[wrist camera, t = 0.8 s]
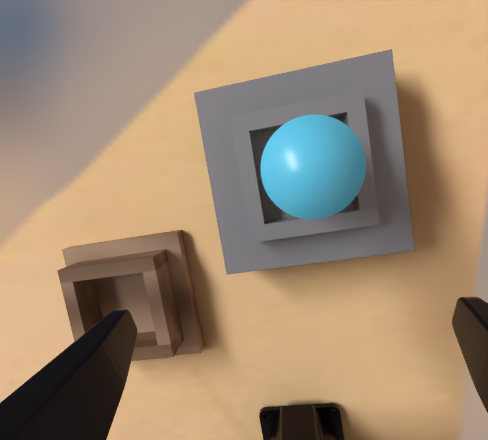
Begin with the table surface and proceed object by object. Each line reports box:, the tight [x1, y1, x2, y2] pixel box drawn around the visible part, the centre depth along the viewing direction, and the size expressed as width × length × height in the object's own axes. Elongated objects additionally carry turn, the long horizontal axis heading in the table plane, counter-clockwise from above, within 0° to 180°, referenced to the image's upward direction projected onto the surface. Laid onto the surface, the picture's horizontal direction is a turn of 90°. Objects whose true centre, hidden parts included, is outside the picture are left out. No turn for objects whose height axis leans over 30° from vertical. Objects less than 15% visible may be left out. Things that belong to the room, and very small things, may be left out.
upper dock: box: [194, 49, 414, 274], centre depth 22 cm, size 12×12×6 cm
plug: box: [261, 115, 366, 219], centre depth 17 cm, size 4×4×8 cm
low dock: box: [58, 230, 204, 361], centre depth 26 cm, size 10×10×4 cm
